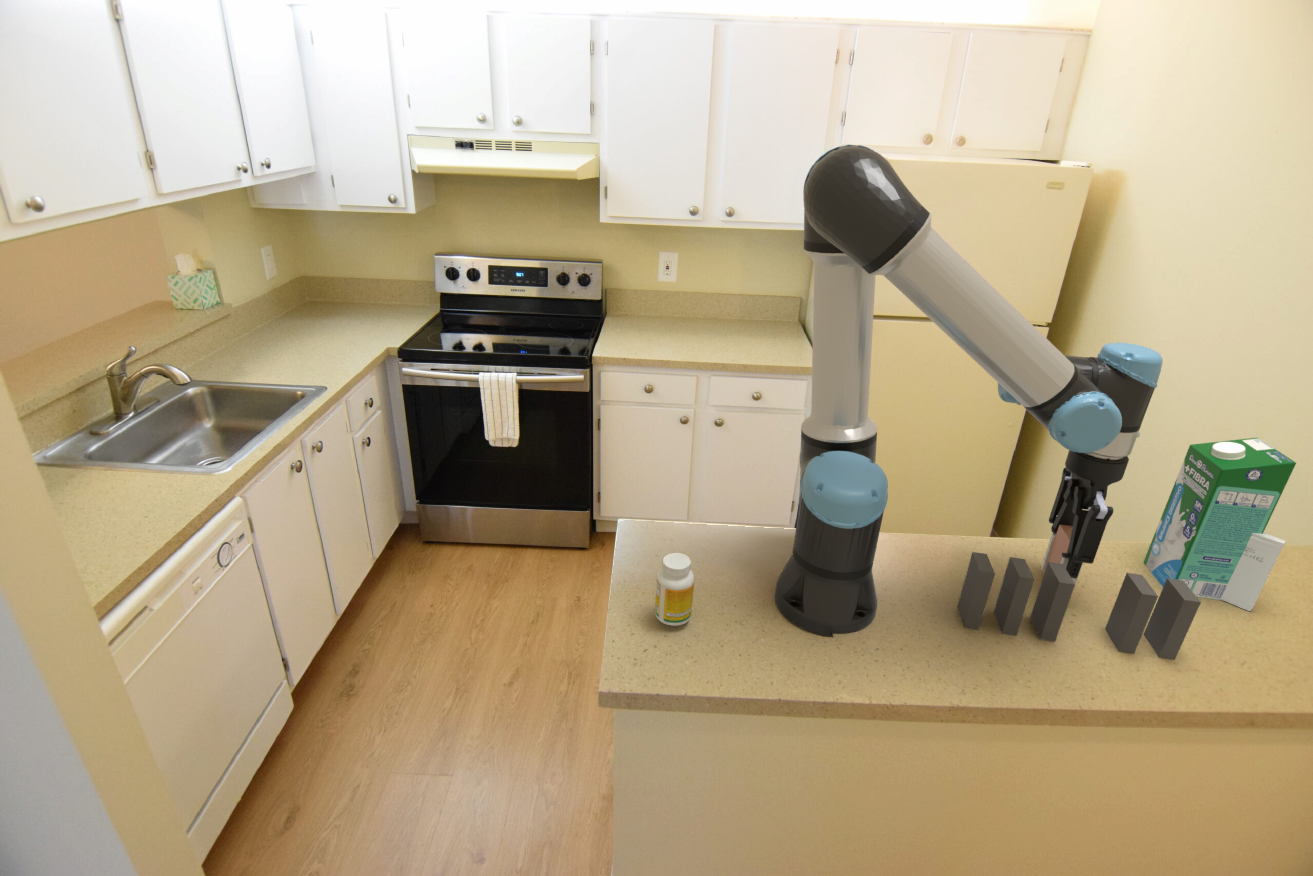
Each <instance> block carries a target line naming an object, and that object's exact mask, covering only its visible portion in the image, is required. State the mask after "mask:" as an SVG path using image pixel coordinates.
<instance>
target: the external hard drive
mask: <svg viewBox="0 0 1313 876" xmlns="http://www.w3.org/2000/svg"><path fill="white" fill-rule="evenodd" d="M1286 543H1287V541H1286V540H1284V539H1282V538H1279V537H1276V536H1274V535H1271V534H1269V533H1267V532H1266V533H1265V532H1263V534H1260V533H1252V536H1251V537H1250V539H1249V541H1248V543H1247V546H1246V548H1245V550H1244V552H1243V554H1242V556H1241V558H1240V560H1239V562H1238V564H1237V566H1236V568H1235V570H1234V572H1233V574H1232V576H1231V578H1230V581H1229V583H1228V585H1227V587H1226V589H1225V591H1224V593H1223V595H1222V597H1221V600H1220V601H1223V602H1225V603H1228V604H1231V605H1233V606H1235V607H1238V608H1240V609H1243V610H1245V611H1248V612H1251V611H1252V610H1253V608H1254V607H1255V604H1257V600H1258V598H1259V596H1260V594H1261V592H1262V590H1263V588H1264V587H1265V584H1266V582H1267V580H1268V578H1269V576H1270V575H1271V572H1272V571H1273V568H1274V566H1275V565H1276V563H1277V559H1278V558H1279V556H1280V554H1281V552H1282V551H1283V549H1284V547H1285V545H1286Z"/></svg>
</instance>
